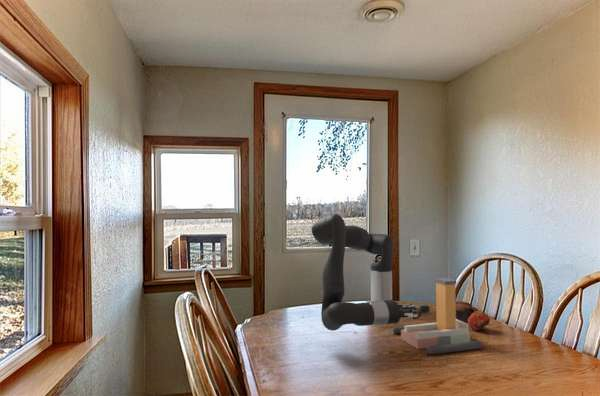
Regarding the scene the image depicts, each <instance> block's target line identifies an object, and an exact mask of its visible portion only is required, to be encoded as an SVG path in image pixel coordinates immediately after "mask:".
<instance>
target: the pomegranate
mask: <svg viewBox="0 0 600 396" xmlns="http://www.w3.org/2000/svg"><path fill="white" fill-rule="evenodd" d="M469 312H470V313H471V315H470V317H469V318H468V321H467V324H469V327H470V329H472V330H474V331H475V332H478V331H479V330H482V329H485V330H486V331H487V332H488V333H489V334H490V333H491V332H490V331H489V330H488V329H487V328H486V326H487V325H489V324H490V321H491V318H490V315H489V314H488V313H486V312H484V311H481V310H478V311H476V312H475V313H473V312H471V311H469Z"/></svg>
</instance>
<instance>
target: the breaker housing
mask: <svg viewBox="0 0 600 396" xmlns="http://www.w3.org/2000/svg"><path fill="white" fill-rule="evenodd" d="M403 326H404V330H401V333H400V340H403V341H404V342H406V343H407V344H409V345H410V346H412V347H414V348H415V349H416V350H421V349H426V348H427V347H429V346H437V345H446V344H454V343H462V342H471V339H470V338H471V333H469V331H470V328H469V327H470V326H469V323H468V322H467V323H466V322H462V321H460V320H457V319H456V328H455V329H446V330H440V329H438V328H436V322H428V323H427V322H426V323H419V324H410V325H403Z"/></svg>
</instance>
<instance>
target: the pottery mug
mask: <svg viewBox="0 0 600 396" xmlns="http://www.w3.org/2000/svg"><path fill="white" fill-rule="evenodd" d="M469 311H471V312H473V313H475V312H476V311H479V310H478V308H476V307H474V306H473V305H472V304H471V303H469V302H467V301H456V319H457V320H460V321H462V322H464V323H467V324H468V318H469V317H470V315H471V313H470V312H469Z"/></svg>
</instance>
